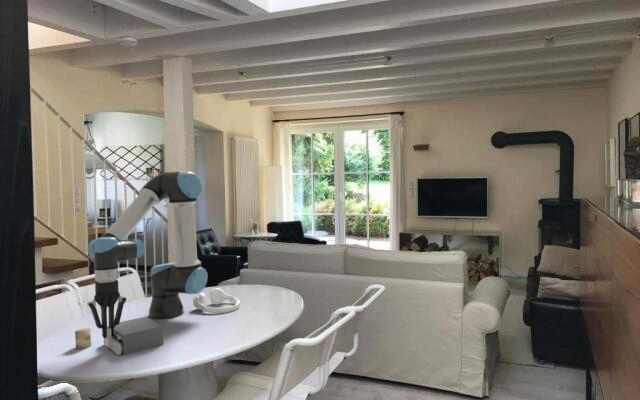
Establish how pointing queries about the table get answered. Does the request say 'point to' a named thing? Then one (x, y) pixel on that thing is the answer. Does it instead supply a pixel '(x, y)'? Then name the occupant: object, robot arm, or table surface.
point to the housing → (139, 334)
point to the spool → (83, 338)
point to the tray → (115, 345)
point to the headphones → (215, 301)
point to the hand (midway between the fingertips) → (108, 345)
